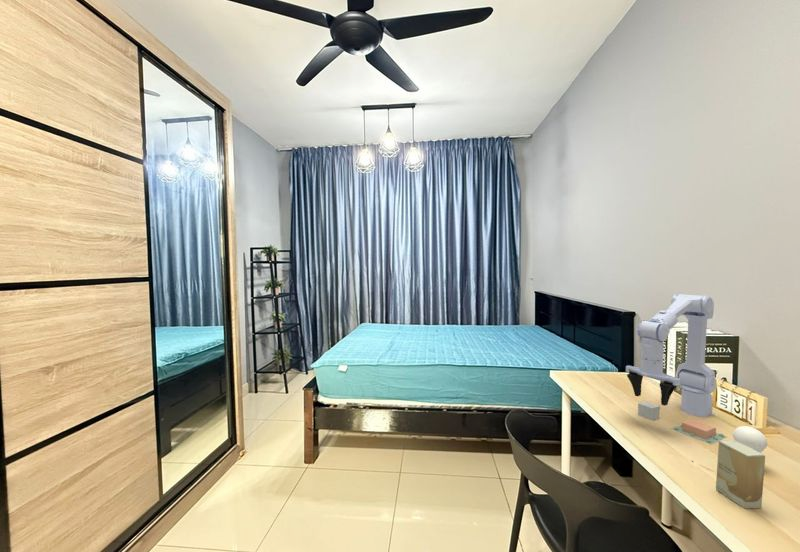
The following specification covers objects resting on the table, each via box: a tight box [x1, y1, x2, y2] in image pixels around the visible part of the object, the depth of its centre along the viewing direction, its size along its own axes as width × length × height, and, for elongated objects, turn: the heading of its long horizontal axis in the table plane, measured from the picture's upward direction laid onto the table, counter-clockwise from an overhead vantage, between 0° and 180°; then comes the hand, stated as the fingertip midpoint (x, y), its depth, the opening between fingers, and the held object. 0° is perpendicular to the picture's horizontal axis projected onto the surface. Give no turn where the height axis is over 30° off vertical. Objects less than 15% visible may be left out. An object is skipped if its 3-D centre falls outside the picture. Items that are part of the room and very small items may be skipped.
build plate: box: [671, 424, 728, 445], centre depth 100 cm, size 10×10×1 cm
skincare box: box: [715, 439, 766, 509], centre depth 72 cm, size 6×4×12 cm
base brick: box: [681, 418, 717, 439], centre depth 100 cm, size 6×6×2 cm
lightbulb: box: [732, 425, 768, 454], centre depth 83 cm, size 6×6×11 cm
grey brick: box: [637, 401, 661, 421], centre depth 111 cm, size 4×4×5 cm
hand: (650, 400), depth 102 cm, fingers open, 7 cm apart
